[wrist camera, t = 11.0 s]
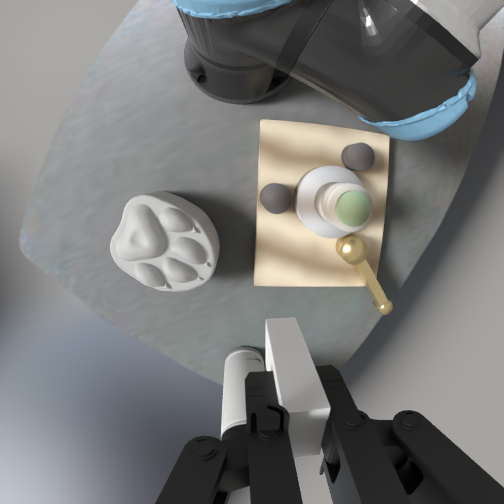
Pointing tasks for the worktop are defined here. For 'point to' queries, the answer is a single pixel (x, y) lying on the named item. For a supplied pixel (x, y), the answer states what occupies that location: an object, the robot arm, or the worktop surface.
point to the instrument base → (286, 231)
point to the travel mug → (237, 388)
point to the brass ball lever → (362, 268)
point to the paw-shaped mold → (166, 242)
